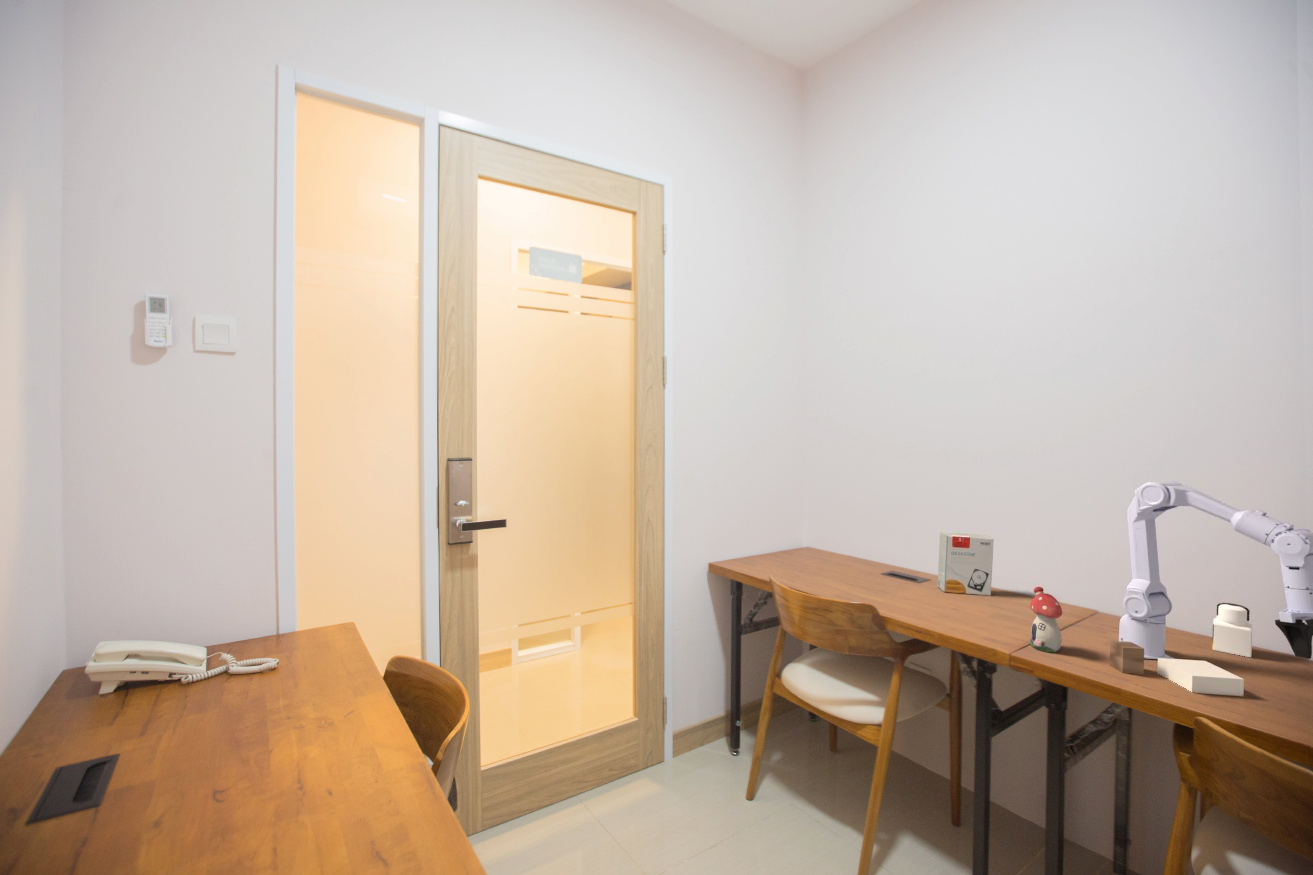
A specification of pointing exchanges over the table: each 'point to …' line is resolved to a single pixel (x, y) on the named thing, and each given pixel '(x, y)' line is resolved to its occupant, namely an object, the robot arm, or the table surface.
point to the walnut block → (1127, 657)
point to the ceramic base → (1200, 676)
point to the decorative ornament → (1045, 622)
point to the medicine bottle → (1232, 630)
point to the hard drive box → (965, 563)
